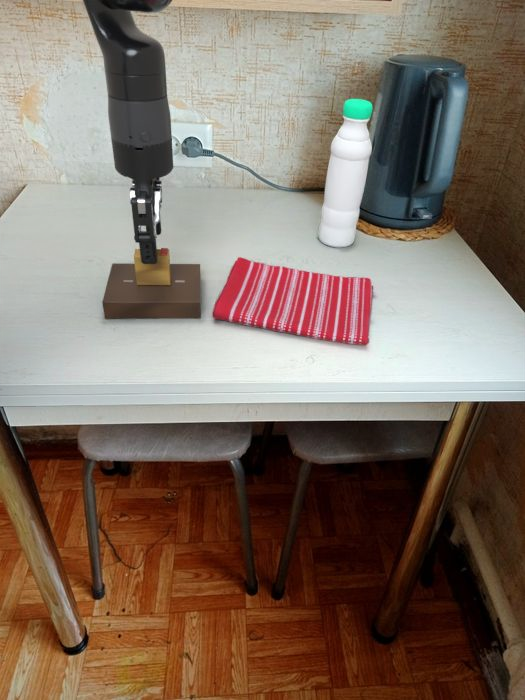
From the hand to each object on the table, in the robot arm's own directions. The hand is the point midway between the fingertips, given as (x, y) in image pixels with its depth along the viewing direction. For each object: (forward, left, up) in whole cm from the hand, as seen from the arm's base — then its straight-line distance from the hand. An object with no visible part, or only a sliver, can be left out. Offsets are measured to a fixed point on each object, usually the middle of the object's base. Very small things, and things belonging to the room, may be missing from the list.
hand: (152, 247), depth 74 cm
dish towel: (+22, -2, -9) cm, 24 cm away
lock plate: (0, 0, -9) cm, 9 cm away
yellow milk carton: (0, 0, -6) cm, 6 cm away
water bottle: (+33, +20, -9) cm, 40 cm away
